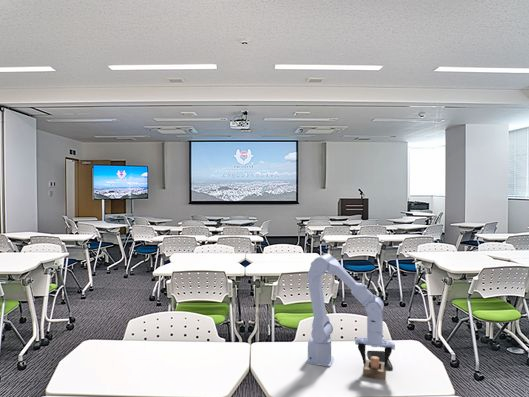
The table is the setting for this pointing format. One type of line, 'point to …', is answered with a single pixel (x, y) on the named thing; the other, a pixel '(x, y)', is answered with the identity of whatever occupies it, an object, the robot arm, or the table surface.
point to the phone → (380, 358)
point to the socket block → (374, 371)
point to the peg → (375, 362)
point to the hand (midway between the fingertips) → (374, 364)
